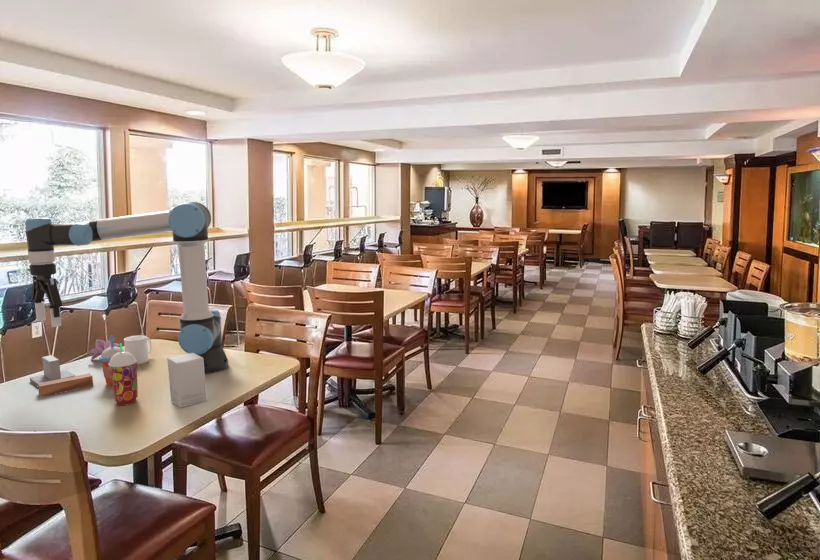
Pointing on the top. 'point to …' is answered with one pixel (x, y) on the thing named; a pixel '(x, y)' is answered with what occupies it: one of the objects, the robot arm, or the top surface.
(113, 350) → the cup with straw
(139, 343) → the cup
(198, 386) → the supplement box
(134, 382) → the smoothie
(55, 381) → the batten
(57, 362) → the ridge stand
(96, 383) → the top surface
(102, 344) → the lily
